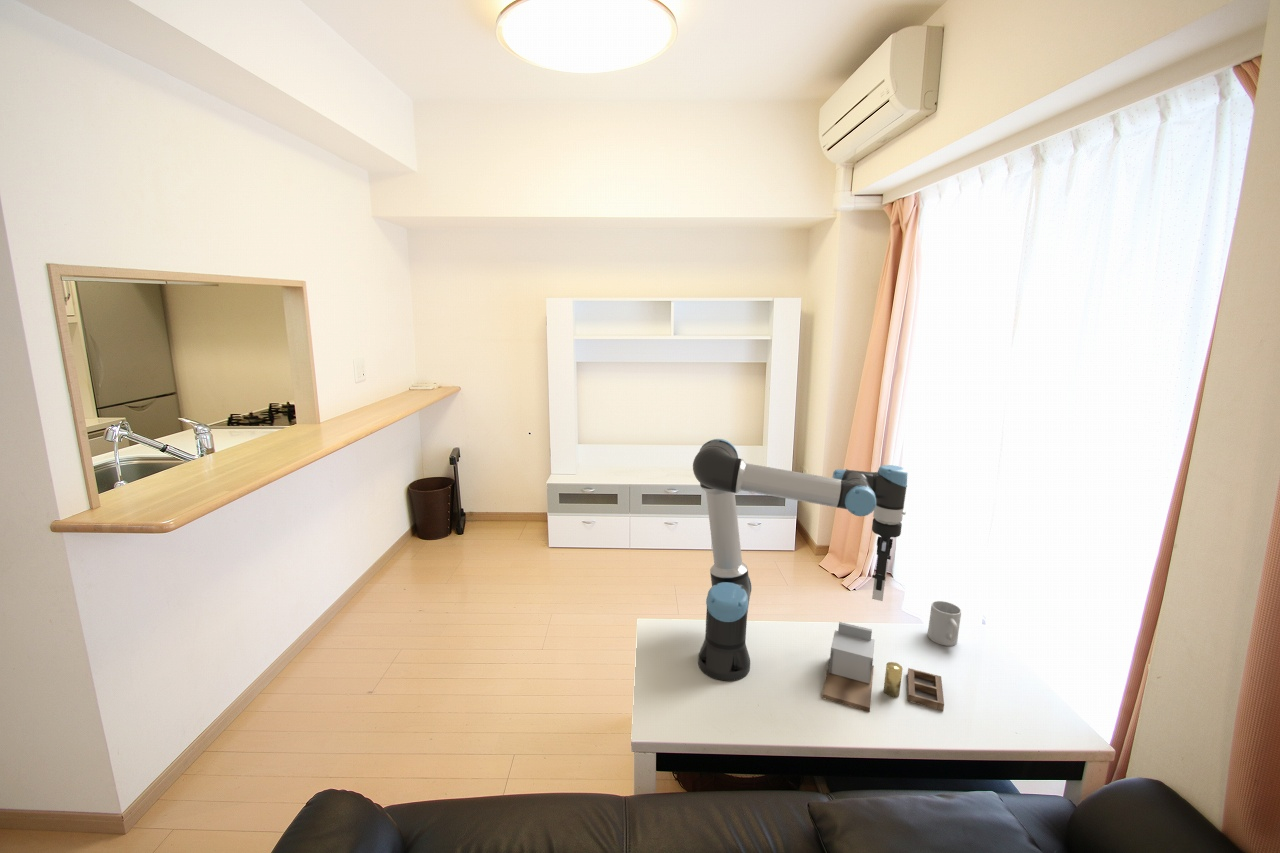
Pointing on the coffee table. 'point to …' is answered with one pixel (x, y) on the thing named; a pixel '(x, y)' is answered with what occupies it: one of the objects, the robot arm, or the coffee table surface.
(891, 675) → the peg
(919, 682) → the socket block
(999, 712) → the coffee table surface
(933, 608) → the mug
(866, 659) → the cover
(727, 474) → the robot arm
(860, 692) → the pattern board
